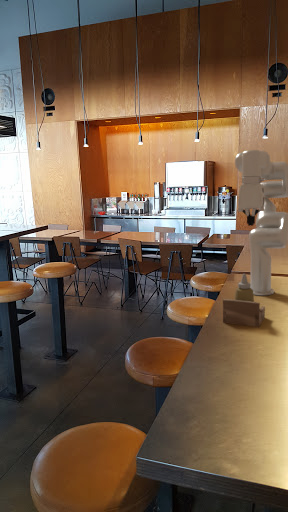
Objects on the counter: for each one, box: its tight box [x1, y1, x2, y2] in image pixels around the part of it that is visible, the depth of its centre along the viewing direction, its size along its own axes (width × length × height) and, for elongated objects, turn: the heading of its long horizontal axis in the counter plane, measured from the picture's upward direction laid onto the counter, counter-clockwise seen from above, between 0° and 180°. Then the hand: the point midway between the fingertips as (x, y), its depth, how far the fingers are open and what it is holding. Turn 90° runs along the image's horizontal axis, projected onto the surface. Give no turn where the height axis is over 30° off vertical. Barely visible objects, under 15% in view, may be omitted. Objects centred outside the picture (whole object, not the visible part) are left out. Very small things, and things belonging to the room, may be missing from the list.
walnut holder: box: [222, 298, 266, 328], centre depth 141 cm, size 11×13×9 cm
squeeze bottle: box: [234, 273, 255, 302], centre depth 142 cm, size 8×8×18 cm
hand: (250, 225), depth 154 cm, fingers closed
